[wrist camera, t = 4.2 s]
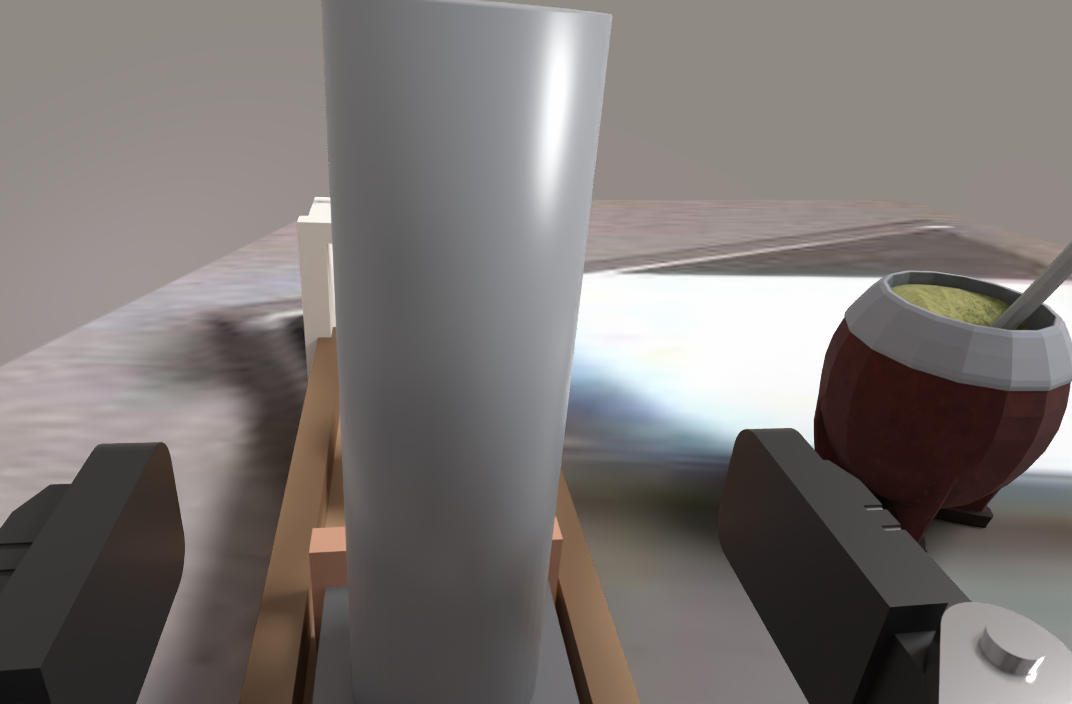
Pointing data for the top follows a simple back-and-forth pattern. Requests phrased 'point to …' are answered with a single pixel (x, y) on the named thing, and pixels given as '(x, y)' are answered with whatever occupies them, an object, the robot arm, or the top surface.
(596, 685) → the track
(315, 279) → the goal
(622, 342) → the top surface
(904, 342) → the mate gourd
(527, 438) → the grey tall cylindrical piece
